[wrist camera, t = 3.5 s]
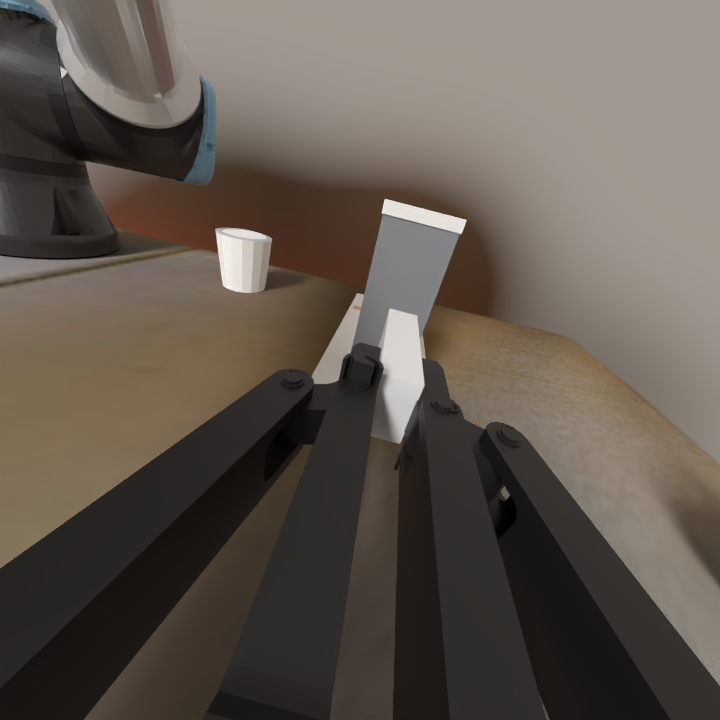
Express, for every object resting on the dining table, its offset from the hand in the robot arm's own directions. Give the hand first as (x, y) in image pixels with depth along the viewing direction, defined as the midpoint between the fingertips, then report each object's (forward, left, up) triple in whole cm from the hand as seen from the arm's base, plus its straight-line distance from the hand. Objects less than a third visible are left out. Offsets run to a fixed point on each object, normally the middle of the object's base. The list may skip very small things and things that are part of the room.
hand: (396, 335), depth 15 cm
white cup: (-30, -6, -9) cm, 32 cm away
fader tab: (-7, +4, -7) cm, 10 cm away
